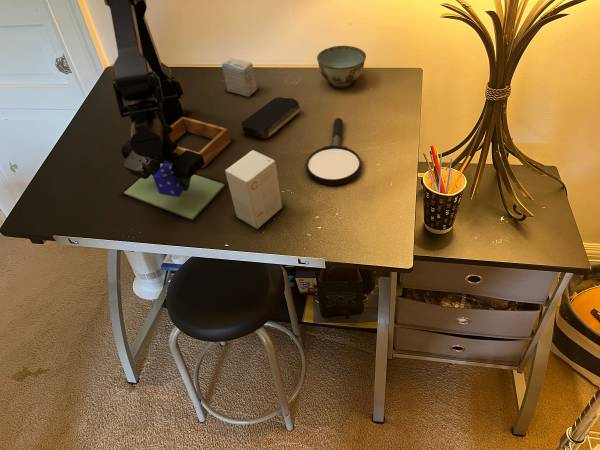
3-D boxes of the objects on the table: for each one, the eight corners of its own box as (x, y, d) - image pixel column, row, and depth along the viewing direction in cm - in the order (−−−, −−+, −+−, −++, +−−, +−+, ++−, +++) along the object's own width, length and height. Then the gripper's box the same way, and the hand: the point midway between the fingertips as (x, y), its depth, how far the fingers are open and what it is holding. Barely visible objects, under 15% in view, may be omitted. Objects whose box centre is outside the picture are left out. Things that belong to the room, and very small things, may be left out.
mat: (124, 194, 106) (123, 192, 106) (158, 164, 113) (158, 162, 113) (192, 220, 99) (191, 218, 98) (224, 186, 106) (224, 184, 105)
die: (188, 182, 107) (183, 165, 103) (178, 196, 103) (172, 180, 100) (169, 179, 108) (163, 162, 104) (159, 193, 105) (152, 176, 101)
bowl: (313, 93, 131) (312, 66, 125) (322, 70, 140) (321, 44, 134) (361, 95, 128) (362, 68, 122) (367, 72, 137) (368, 45, 131)
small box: (261, 196, 102) (252, 148, 93) (282, 207, 99) (276, 159, 90) (235, 217, 98) (223, 169, 89) (257, 230, 95) (247, 182, 86)
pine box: (157, 153, 116) (152, 140, 113) (186, 129, 123) (182, 116, 120) (203, 168, 111) (199, 155, 108) (230, 141, 118) (227, 128, 115)
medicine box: (257, 90, 134) (252, 62, 128) (248, 97, 132) (243, 69, 126) (236, 84, 138) (230, 57, 131) (226, 91, 135) (221, 64, 129)
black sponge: (265, 144, 116) (263, 131, 113) (240, 134, 119) (237, 122, 117) (303, 112, 124) (302, 100, 122) (278, 104, 128) (277, 92, 126)
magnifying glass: (362, 125, 118) (363, 117, 117) (359, 187, 102) (359, 179, 100) (314, 124, 120) (314, 117, 118) (304, 185, 104) (303, 178, 102)
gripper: (90, 138, 93) (118, 196, 104) (160, 161, 85) (182, 220, 97) (128, 110, 99) (151, 167, 110) (197, 129, 92) (213, 188, 103)
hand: (172, 185), depth 105 cm, fingers open, 8 cm apart
